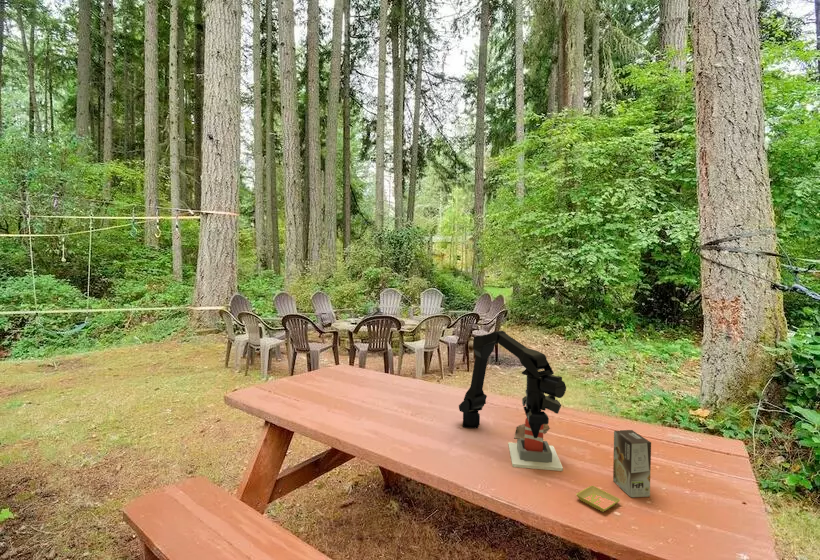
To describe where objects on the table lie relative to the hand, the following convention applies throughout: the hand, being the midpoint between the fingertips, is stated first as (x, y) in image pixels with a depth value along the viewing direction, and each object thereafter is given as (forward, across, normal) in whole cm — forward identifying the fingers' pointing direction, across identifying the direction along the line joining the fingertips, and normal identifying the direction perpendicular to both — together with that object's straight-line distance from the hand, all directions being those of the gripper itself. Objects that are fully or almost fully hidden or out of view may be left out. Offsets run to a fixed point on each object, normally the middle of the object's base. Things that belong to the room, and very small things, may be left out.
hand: (534, 433), depth 137 cm
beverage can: (+6, 0, 0) cm, 6 cm away
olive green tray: (+9, -24, -14) cm, 29 cm away
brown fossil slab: (+9, +24, -3) cm, 26 cm away
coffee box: (+8, -15, -26) cm, 31 cm away
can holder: (+8, 0, 0) cm, 8 cm away
